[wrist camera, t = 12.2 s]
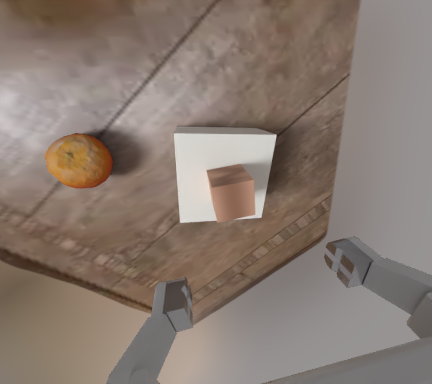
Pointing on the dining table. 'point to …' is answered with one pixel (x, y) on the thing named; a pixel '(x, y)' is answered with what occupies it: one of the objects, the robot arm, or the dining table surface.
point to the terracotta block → (231, 192)
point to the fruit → (79, 161)
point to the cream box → (219, 165)
